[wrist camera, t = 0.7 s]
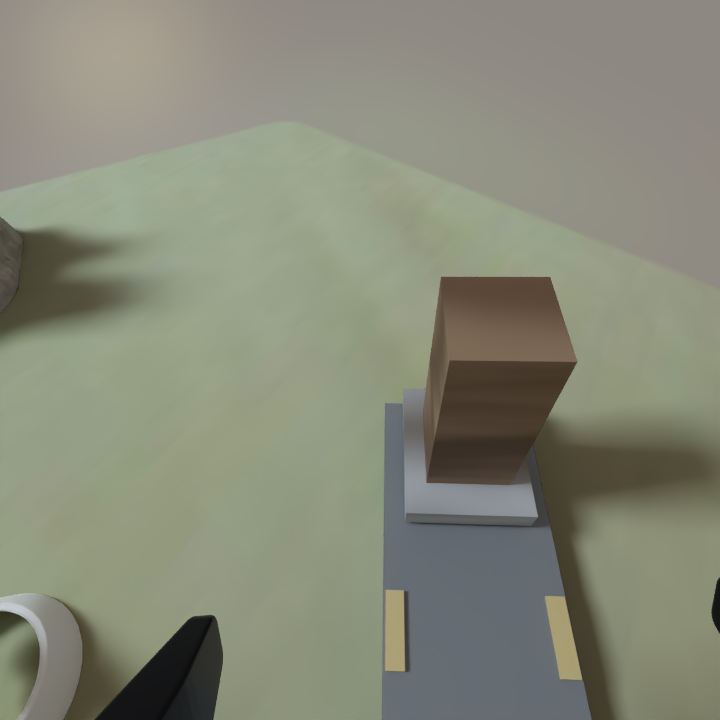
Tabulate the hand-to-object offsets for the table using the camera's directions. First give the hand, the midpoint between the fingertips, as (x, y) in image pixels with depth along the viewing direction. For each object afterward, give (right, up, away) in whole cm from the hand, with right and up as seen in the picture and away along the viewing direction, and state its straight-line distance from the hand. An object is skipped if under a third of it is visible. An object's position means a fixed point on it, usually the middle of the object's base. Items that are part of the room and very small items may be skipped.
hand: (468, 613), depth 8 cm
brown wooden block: (+3, -1, +16) cm, 16 cm away
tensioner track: (+3, -6, +14) cm, 16 cm away
